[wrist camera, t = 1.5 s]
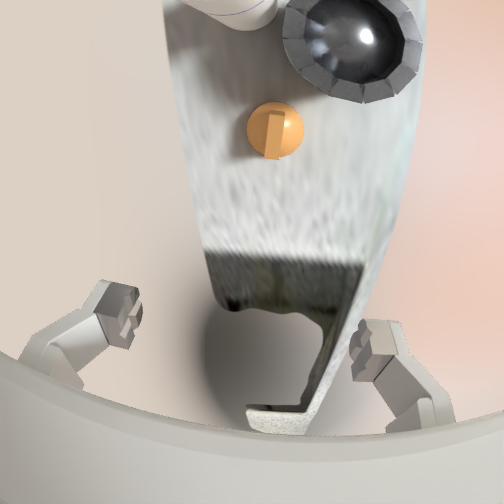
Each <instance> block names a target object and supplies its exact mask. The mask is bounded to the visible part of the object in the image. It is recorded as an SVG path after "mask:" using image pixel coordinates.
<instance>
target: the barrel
mask: <svg viewBox="0 0 504 504" xmlns="http://www.w3.org/2000/svg"><path fill="white" fill-rule="evenodd" d="M408 9H409V8H408V7H407V6H406V5H405V4H404V3H403V2H402V1H400V0H291V1H290V2H289V3H288V4H287V7H286V9H285V17H284V24H283V31H282V39H283V45H284V49H285V52H286V54H287V57H288V59H289V61H290V62H291V64H292V65H293V67H294V68H295V69H296V71H297V72H298V73H299V74H300V75H301V76H302V77H303V78H305V79H306V80H307V81H308V82H310V83H311V84H313V85H314V86H316V87H317V88H319V89H320V90H321V91H322V92H324V93H325V94H327V95H329V96H331V97H336V98H341V99H345V100H349V101H353V102H357V103H361V104H362V102H363V103H365V104H366V103H370V102H373V101H377V100H381V99H385V98H389V97H393V96H394V94H398V93H399V92H400V91H401V90H402V89H403V88H404V87H405V86H406V85H407V84H408V83H409V82H410V81H411V80H412V79H413V78H414V77H415V76H416V75H417V74H416V73H415V72H414V71H416V72H418V69H419V63H420V57H421V51H422V45H423V44H422V43H420V42H417V41H422V38H421V35H420V33H419V30H418V27H417V25H416V22H415V20H414V17H413V15H412V13H411V11H409V12H406V11H407V10H408Z"/></svg>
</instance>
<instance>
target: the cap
mask: <svg viewBox="0 0 504 504" xmlns="http://www.w3.org/2000/svg"><path fill="white" fill-rule="evenodd" d="M246 132H247V137H248V140H249V142H250V144H251V145H252V147H253V148H254V149H255V150H257V151H258V152H259V153H261V154H263V155H264V158H267V159H274V160H279V157H283V156H286V155H289V154H291V153H292V152H294V151H295V150H296V149H297V148H298V147H299V145H300V144H301V142H302V140H303V136H304V127H303V123H302V120H301V117H300V115H299V114H298V112H297V111H296V110H295V109H294V108H293V107H291V106H290V105H288V104H286V103H283V102H268V103H264V104H262V105H260V106H259V107H258V108H256V109H255V110H254V112H253V113H252V114H251V116H250V118H249V120H248V123H247V128H246Z"/></svg>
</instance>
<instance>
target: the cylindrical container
mask: <svg viewBox="0 0 504 504" xmlns="http://www.w3.org/2000/svg"><path fill="white" fill-rule="evenodd" d="M179 1H181V2H183V3H185V4H187V5H189V6H191V7H193V8H195V9H197V10H199V11H201V12H203V13H205V14H207V15H209V16H210V17H212V18H214V19H216V20H218V21H219V22H221V23H223V24H225V25H226V26H228V27H230V28H233V29H235V30H240V31H252V30H256V29H260V28H262V27H264V26H266V25H267V24H268V23H270V22H271V21H272V20H273V19H274V17H275V15H276V14H277V11H278V4H279V3H278V0H179Z"/></svg>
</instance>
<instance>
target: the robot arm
mask: <svg viewBox="0 0 504 504" xmlns="http://www.w3.org/2000/svg"><path fill="white" fill-rule="evenodd" d="M139 295H140V294H139V290H138V288H136V287H133V286H129V285H124V284H119V283H115V282H111V281H106V280H100V281H99V282H98V283H97V285H96V286H95V288H94V289H93V291H92V292H91V294H90V296H89V297H88V298H87V300H86V302H85V303H84V305H83V307H82V308H81V309H76V310H74V311H73V312H71V313H69V314H67V315H66V316H64V317H62V318H61V319H59V320H57V321H55V322H54V323H52V324H50V325H49V326H47V327H46V328H44V329H42V330H40V331H39V332H37V333H35V334H34V335H32V337H31V338H30V340H29V341H28V343H27V345H26V346H25V348H24V350H23V352H22V354H21V355H20V357H19V359H18V360H15V359H13V358H11V357H9V356H8V355H6V354H4V353H2V352H1V351H0V504H504V410H502V411H499V412H496V413H493V414H489V415H486V416H482V417H478V418H474V419H470V420H466V421H462V422H457V423H456V421H455V416H454V411H453V407H452V403H451V399H450V395H449V394H448V392H447V391H446V390H445V389H444V388H443V387H442V386H441V385H440V384H439V383H438V382H437V381H436V380H435V378H434V377H433V376H432V375H431V374H430V373H429V372H428V371H427V370H426V369H425V368H424V366H423V365H422V364H421V363H420V362H419V361H418V360H417V359H416V358H415V357H414V356H410V353H409V350H408V346H407V343H406V339H405V336H404V333H403V329H402V326H401V323H400V322H399V321H389V320H387V321H386V320H375V319H362V320H361V321H360V322H359V324H358V329H359V330H358V331H356V332H354V333H353V335H352V337H351V340H350V344H349V354H350V357H351V358H352V360H353V361H354V363H353V364H352V366H351V369H352V377H353V381H358V382H373V384H374V386H375V387H376V389H377V390H378V391H379V393H380V394H381V396H382V397H383V399H384V400H385V402H386V403H387V405H388V406H389V408H390V409H391V411H392V412H393V414H394V415H395V417H396V419H395V420H394V421H392V422H391V423H389V424H388V425H387V426H386V427H385V428H386V433H384V434H371V435H353V436H352V435H351V436H304V435H284V434H271V433H259V432H251V431H242V430H235V429H228V428H221V427H215V426H209V425H204V424H198V423H193V422H188V421H184V420H178V419H174V418H170V417H165V416H162V415H158V414H154V413H150V412H147V411H143V410H139V409H136V408H133V407H129V406H126V405H123V404H120V403H116V402H113V401H110V400H107V399H104V398H102V397H99V396H96V395H93V394H90V393H88V392H85V391H83V390H82V389H83V386H84V384H83V381H82V380H81V378H80V377H79V376H78V374H77V372H78V371H79V370H81V369H82V368H83V367H84V366H85V365H87V364H88V363H89V362H90V361H92V360H93V359H94V358H95V357H96V356H98V355H99V354H100V353H101V352H103V350H105V349H106V348H107V347H108V346H109V345H112V346H116V347H120V348H124V349H128V350H129V348H130V346H131V343H132V341H133V339H134V336H135V335H134V332H133V330H134V329H136V328H138V327H139V325H140V322H141V318H142V314H143V309H142V308H143V307H142V303H141V302H140V301H139V300H138V297H139Z"/></svg>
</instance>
